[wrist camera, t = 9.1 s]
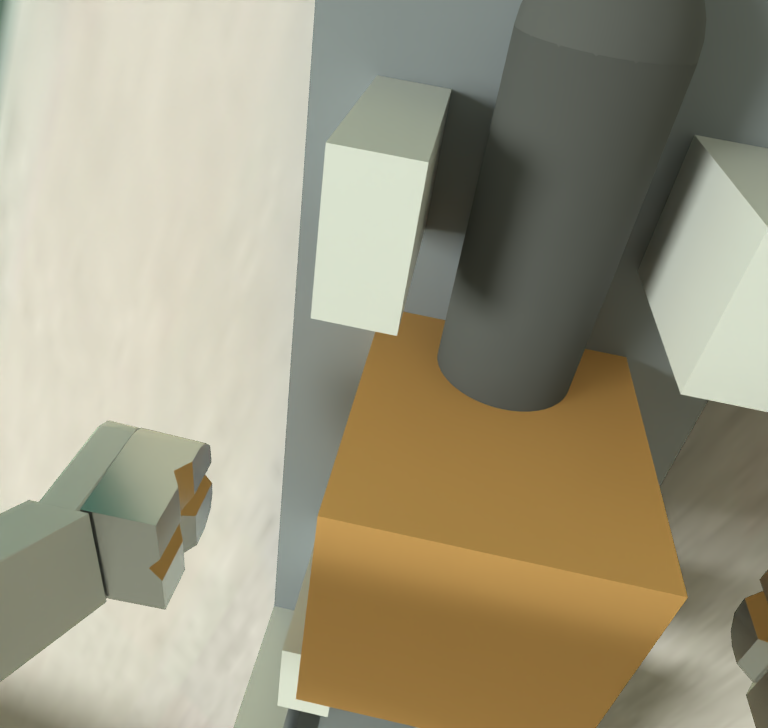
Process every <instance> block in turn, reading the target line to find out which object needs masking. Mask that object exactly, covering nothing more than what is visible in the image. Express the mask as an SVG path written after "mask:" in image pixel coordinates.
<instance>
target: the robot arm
mask: <svg viewBox="0 0 768 728" xmlns="http://www.w3.org/2000/svg"><path fill="white" fill-rule="evenodd" d="M210 464H211V451H210V445H208V444H206V443H203V442H199V441H195V440H190V439H186V438H182V437H178V436H174V435H170V434H165V433H161V432H157V431H153V430H149V429H144V428H138V427H134V426H130V425H125V424H121V423H117V422H113V421H107V422H105V423H104V424H102V425H100V426H99V427H98V428H97V429H96V430H95V431H94V433H93V434H92V435H91V436H90V438H89V439H88V440H87V442H86V443H85V444H84V445H83V447H82V448H81V449H80V451H79V452H78V453H77V454H76V456H75V457H74V458H73V459H72V461H71V462H70V463H69V465H68V466H67V467H66V468H65V470H64V471H63V472H62V473H61V475H60V476H59V477H58V479H57V480H56V481H55V482H54V484H53V485H52V486H51V488H50V489H49V490H48V491H47V493H46V494H45V495H44V496H43V498H42V499H41V500H40V502H36V501H31V500H28V501H26V502H24V503H22V504H20V505H18V506H15V507H13V508H11V509H9V510H7V511H5V512H3V513H1V514H0V682H1V681H2V680H4V679H5V678H6V677H8V676H9V675H10V674H12V673H13V672H14V671H15V670H17V669H18V668H19V667H21V666H22V665H23V664H25V663H26V662H27V661H29V660H30V659H31V658H33V657H34V656H35V655H37V654H38V653H39V652H41V651H42V650H43V649H45V648H46V647H47V646H49V645H50V644H51V643H52V642H54V641H55V640H56V639H58V638H59V637H60V636H62V635H63V634H64V633H66V632H67V631H68V630H70V629H71V628H72V627H74V626H75V625H76V624H78V623H79V622H80V621H82V620H83V619H84V618H85V617H87V616H88V615H89V614H91V613H92V612H93V611H95V610H96V609H97V608H99V607H100V606H101V605H103V604H104V603H105V602H106V598H109V599H114V600H119V601H124V602H129V603H134V604H140V605H145V606H150V607H155V608H160V609H166V607H167V605H168V603H169V601H170V599H171V597H172V595H173V593H174V591H175V589H176V587H177V585H178V583H179V581H180V579H181V576H182V574H183V572H184V570H185V567H184V552H186V551H187V550H189V549H191V548H192V547H194V546H196V545H197V543H198V541H199V539H200V537H201V535H202V533H203V530H204V528H205V525H206V522H207V518H208V515H209V512H210V508H211V500H212V483H211V481H210V480H209V479H208V478H207V476H206V475H205V473H206V471H207V469H208V468H209V466H210ZM760 582H761V586H762V589H763V591H762V592H759V593H757V594H754V595H752V596H749V597H747V598H745V599H744V600H743V601H742V603H741V604H740V606H739V607H738V609H737V610H736V611H735V613H734V618H733V623H732V628H731V638H732V648H733V651H734V655H735V659H736V662H737V664H738V665H739V667H740V668H741V669H742V670H743V671H744V672H745V673H746V675H747V676H748V677H749V678H750V679H751V680H752V681H753V682H752V684H751V686H750V688H749V690H748V692H747V694H746V696H747V700H748V703H749V706H750V709H751V713H752V716H753V719H754V723H755V726H756V728H768V570H767V571H766V573H765V574H764V575H763V576H762V577H761V579H760Z"/></svg>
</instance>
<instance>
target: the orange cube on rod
mask: <svg viewBox="0 0 768 728" xmlns="http://www.w3.org/2000/svg"><path fill="white" fill-rule="evenodd" d="M706 20H707V19H706V8H705V0H523V1H522V3H521V5H520V8H519V11H518V14H517V17H516V20H515V23H514V27H513V31H512V35H511V40H510V44H509V48H508V53H507V57H506V61H505V66H504V70H503V74H502V78H501V83H500V87H499V91H498V96H497V100H496V104H495V109H494V113H493V117H492V122H491V126H490V130H489V134H488V139H487V143H486V147H485V152H484V156H483V160H482V165H481V169H480V173H479V178H478V182H477V186H476V190H475V195H474V199H473V203H472V208H471V212H470V216H469V221H468V225H467V229H466V234H465V238H464V242H463V246H462V251H461V255H460V259H459V264H458V268H457V272H456V277H455V281H454V285H453V290H452V294H451V298H450V302H449V307H448V311H447V315H446V320H442V319H437V318H432V317H427V316H422V315H417V314H413V313H408V312H403V315H402V319H401V322H400V326H399V330H398V334H397V336H395V335H390V334H385V333H380V332H375V334H374V338H373V341H372V344H371V347H370V350H369V354H368V357H367V360H366V363H365V366H364V370H363V373H362V376H361V379H360V382H359V386H358V389H357V392H356V395H355V398H354V401H353V405H352V408H351V411H350V414H349V417H348V421H347V424H346V427H345V430H344V433H343V437H342V440H341V443H340V446H339V449H338V452H337V456H336V459H335V462H334V465H333V468H332V472H331V475H330V478H329V481H328V484H327V488H326V491H325V494H324V497H323V500H322V503H321V507H320V510H319V513H318V517H317V525H316V533H315V542H314V550H313V558H312V567H311V575H310V584H309V592H308V600H307V609H306V617H305V626H304V634H303V642H302V651H301V659H300V667H299V676H298V684H297V693H296V699H298V700H302V701H306V702H311V703H315V704H319V705H323V706H328V707H330V708H329V713H328V717H324V716H320V721H319V725H318V728H596V727H597V726H598V724H599V723H600V721H601V720H602V718H603V717H604V716H605V714H606V713H607V711H608V710H609V709H610V707H611V706H612V704H613V703H614V701H615V700H616V699H617V697H618V696H619V694H620V693H621V691H622V690H623V689H624V687H625V686H626V684H627V683H628V682H629V680H630V679H631V677H632V676H633V674H634V673H635V672H636V670H637V669H638V667H639V666H640V665H641V663H642V662H643V660H644V659H645V657H646V656H647V655H648V653H649V652H650V650H651V649H652V648H653V646H654V645H655V643H656V642H657V640H658V639H659V638H660V636H661V635H662V633H663V632H664V630H665V629H666V628H667V626H668V625H669V623H670V622H671V621H672V619H673V618H674V616H675V615H676V613H677V612H678V611H679V609H680V608H681V606H682V605H683V604H684V602H685V601H686V599H687V598H688V596H687V592H686V588H685V585H684V581H683V577H682V573H681V569H680V565H679V561H678V557H677V553H676V549H675V545H674V542H673V538H672V534H671V530H670V526H669V522H668V518H667V514H666V510H665V506H664V502H663V499H662V495H661V491H660V487H659V483H658V479H657V475H656V471H655V467H654V463H653V459H652V456H651V452H650V448H649V444H648V440H647V436H646V432H645V428H644V424H643V420H642V416H641V413H640V409H639V405H638V401H637V397H636V393H635V389H634V385H633V381H632V377H631V373H630V370H629V366H628V362H627V358H626V357H623V356H618V355H613V354H609V353H604V352H599V351H594V350H589V349H585V347H586V345H587V342H588V340H589V337H590V335H591V332H592V330H593V327H594V325H595V322H596V320H597V317H598V315H599V312H600V309H601V307H602V304H603V302H604V299H605V297H606V294H607V292H608V289H609V287H610V284H611V282H612V279H613V277H614V274H615V272H616V269H617V266H618V264H619V261H620V259H621V256H622V254H623V251H624V249H625V246H626V244H627V241H628V239H629V236H630V234H631V231H632V228H633V226H634V223H635V221H636V218H637V216H638V213H639V211H640V208H641V206H642V203H643V201H644V198H645V196H646V193H647V191H648V188H649V185H650V183H651V180H652V178H653V175H654V173H655V170H656V168H657V165H658V163H659V160H660V158H661V155H662V153H663V150H664V147H665V145H666V142H667V140H668V137H669V135H670V132H671V130H672V127H673V125H674V122H675V120H676V117H677V115H678V112H679V110H680V107H681V104H682V102H683V99H684V97H685V94H686V92H687V89H688V87H689V84H690V82H691V79H692V77H693V74H694V72H695V69H696V67H697V64H698V60H699V57H700V54H701V50H702V47H703V43H704V40H705V30H706Z"/></svg>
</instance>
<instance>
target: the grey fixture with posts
mask: <svg viewBox="0 0 768 728" xmlns="http://www.w3.org/2000/svg"><path fill="white" fill-rule="evenodd" d="M522 1H523V0H315V13H314V28H313V43H312V57H311V72H310V87H309V102H308V116H307V131H306V146H305V161H304V176H303V190H302V205H301V220H300V235H299V249H298V264H297V279H296V294H295V308H294V323H293V338H292V353H291V367H290V382H289V397H288V412H287V427H286V441H285V456H284V471H283V486H282V500H281V515H280V530H279V545H278V559H277V574H276V589H275V604H274V608H273V611H272V614H271V617H270V620H269V623H268V626H267V629H266V632H265V635H264V638H263V641H262V644H261V647H260V650H259V653H258V656H257V659H256V662H255V665H254V668H253V671H252V674H251V677H250V680H249V683H248V686H247V689H246V692H245V695H244V698H243V701H242V704H241V707H240V710H239V713H238V716H237V719H236V722H235V725H234V728H318V725H319V721H320V716H324V717H328V713H329V708H330V707H328V706H323V705H319V704H315V703H311V702H306V701H302V700H298V699H296V693H297V684H298V676H299V667H300V659H301V651H302V642H303V634H304V626H305V617H306V609H307V600H308V592H309V584H310V575H311V567H312V558H313V550H314V542H315V533H316V525H317V517H318V513H319V510H320V507H321V503H322V500H323V497H324V494H325V491H326V488H327V484H328V481H329V478H330V475H331V472H332V468H333V465H334V462H335V459H336V456H337V452H338V449H339V446H340V443H341V440H342V437H343V433H344V430H345V427H346V424H347V421H348V417H349V414H350V411H351V408H352V405H353V401H354V398H355V395H356V392H357V389H358V386H359V382H360V379H361V376H362V373H363V370H364V366H365V363H366V360H367V357H368V354H369V350H370V347H371V344H372V341H373V338H374V334H375V332H380V333H385V334H390V335H395V336H397V334H398V330H399V326H400V322H401V319H402V315H403V312H408V313H413V314H417V315H422V316H427V317H432V318H437V319H442V320H446V315H447V311H448V307H449V302H450V298H451V294H452V290H453V285H454V281H455V277H456V272H457V268H458V264H459V259H460V255H461V251H462V246H463V242H464V238H465V234H466V229H467V225H468V221H469V216H470V212H471V208H472V203H473V199H474V195H475V190H476V186H477V182H478V178H479V173H480V169H481V165H482V160H483V156H484V152H485V147H486V143H487V139H488V134H489V130H490V126H491V122H492V117H493V113H494V109H495V104H496V100H497V96H498V91H499V87H500V83H501V78H502V74H503V70H504V66H505V61H506V57H507V53H508V48H509V44H510V40H511V35H512V31H513V27H514V23H515V20H516V17H517V14H518V11H519V8H520V5H521V3H522ZM705 8H706V19H707V20H706V30H705V40H704V43H703V47H702V50H701V54H700V57H699V60H698V64H697V67H696V69H695V72H694V74H693V77H692V79H691V82H690V84H689V87H688V89H687V92H686V94H685V97H684V99H683V102H682V104H681V107H680V110H679V112H678V115H677V117H676V120H675V122H674V125H673V127H672V130H671V132H670V135H669V137H668V140H667V142H666V145H665V147H664V150H663V153H662V155H661V158H660V160H659V163H658V165H657V168H656V170H655V173H654V175H653V178H652V180H651V183H650V185H649V188H648V191H647V193H646V196H645V198H644V201H643V203H642V206H641V208H640V211H639V213H638V216H637V218H636V221H635V223H634V226H633V228H632V231H631V234H630V236H629V239H628V241H627V244H626V246H625V249H624V251H623V254H622V256H621V259H620V261H619V264H618V266H617V269H616V272H615V274H614V277H613V279H612V282H611V284H610V287H609V289H608V292H607V294H606V297H605V299H604V302H603V304H602V307H601V309H600V312H599V315H598V317H597V320H596V322H595V325H594V327H593V330H592V332H591V335H590V337H589V340H588V342H587V345H586V347H585V349H589V350H594V351H599V352H604V353H609V354H613V355H618V356H623V357H626V358H627V362H628V366H629V370H630V373H631V377H632V381H633V385H634V389H635V393H636V397H637V401H638V405H639V409H640V413H641V416H642V420H643V424H644V428H645V432H646V436H647V440H648V444H649V448H650V452H651V456H652V459H653V463H654V467H655V471H656V475H657V479H658V483H659V487H660V485H661V483H662V482H663V480H664V478H665V476H666V475H667V473H668V471H669V469H670V468H671V466H672V464H673V462H674V460H675V459H676V457H677V455H678V453H679V452H680V450H681V448H682V446H683V444H684V443H685V441H686V439H687V437H688V436H689V434H690V432H691V430H692V429H693V427H694V425H695V423H696V421H697V420H698V418H699V416H700V414H701V413H702V411H703V409H704V407H705V406H706V404H707V402H708V400H711V401H716V402H721V403H725V404H730V405H735V406H740V407H745V408H750V409H755V410H760V411H764V412H768V0H705Z"/></svg>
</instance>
